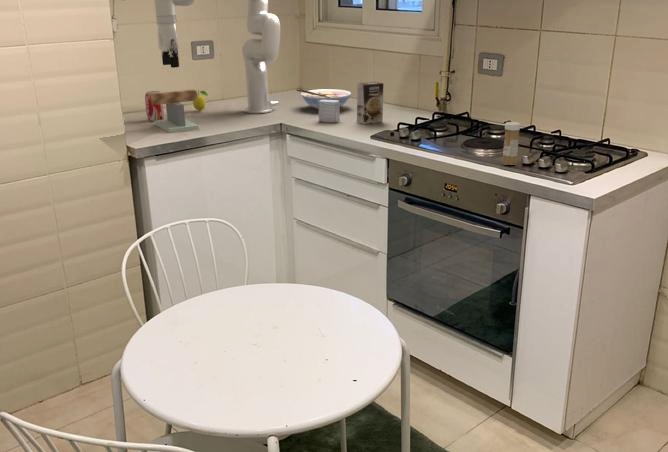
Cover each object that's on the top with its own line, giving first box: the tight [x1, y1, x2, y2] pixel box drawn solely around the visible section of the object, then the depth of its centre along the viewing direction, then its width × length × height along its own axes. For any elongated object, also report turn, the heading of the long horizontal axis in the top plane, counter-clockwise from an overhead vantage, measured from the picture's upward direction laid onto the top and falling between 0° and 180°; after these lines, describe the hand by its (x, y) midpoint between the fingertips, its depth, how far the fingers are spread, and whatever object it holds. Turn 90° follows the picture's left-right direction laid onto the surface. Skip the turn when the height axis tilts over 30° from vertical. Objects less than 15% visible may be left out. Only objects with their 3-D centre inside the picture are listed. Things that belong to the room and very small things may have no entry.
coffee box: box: [356, 81, 384, 125], centre depth 267 cm, size 9×6×16 cm
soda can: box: [144, 90, 165, 122], centre depth 276 cm, size 7×7×12 cm
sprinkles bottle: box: [501, 121, 521, 165], centre depth 204 cm, size 5×5×13 cm
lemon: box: [192, 90, 209, 112], centre depth 294 cm, size 7×6×10 cm
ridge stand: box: [154, 102, 200, 134], centre depth 264 cm, size 12×19×10 cm, turn 32°
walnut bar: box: [151, 89, 198, 105], centre depth 261 cm, size 18×3×4 cm, turn 122°
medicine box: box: [318, 100, 341, 123], centre depth 271 cm, size 8×4×9 cm, turn 71°
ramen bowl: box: [296, 88, 352, 110], centre depth 297 cm, size 25×23×8 cm
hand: (171, 66), depth 257 cm, fingers open, 9 cm apart
